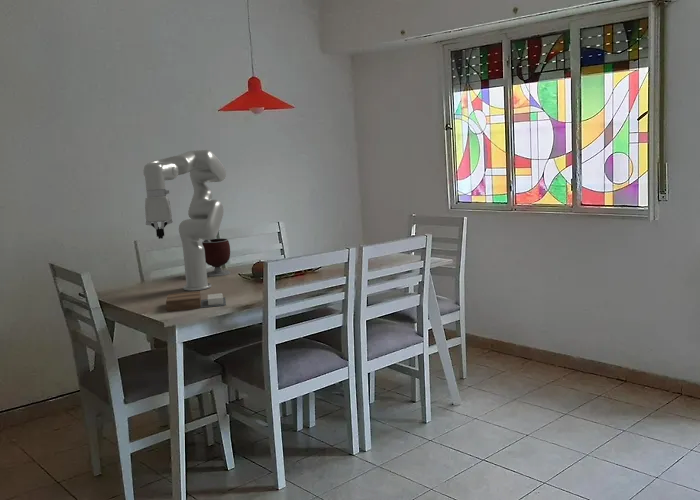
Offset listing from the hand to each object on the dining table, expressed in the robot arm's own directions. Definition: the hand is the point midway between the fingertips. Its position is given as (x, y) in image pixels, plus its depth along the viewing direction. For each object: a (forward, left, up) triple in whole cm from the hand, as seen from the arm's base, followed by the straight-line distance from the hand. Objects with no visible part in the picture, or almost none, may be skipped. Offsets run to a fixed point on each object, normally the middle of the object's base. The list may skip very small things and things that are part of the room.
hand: (160, 238), depth 282 cm
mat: (+11, +19, -27) cm, 35 cm away
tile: (+11, +20, -24) cm, 33 cm away
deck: (+11, +7, -27) cm, 30 cm away
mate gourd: (-56, +21, -27) cm, 66 cm away
